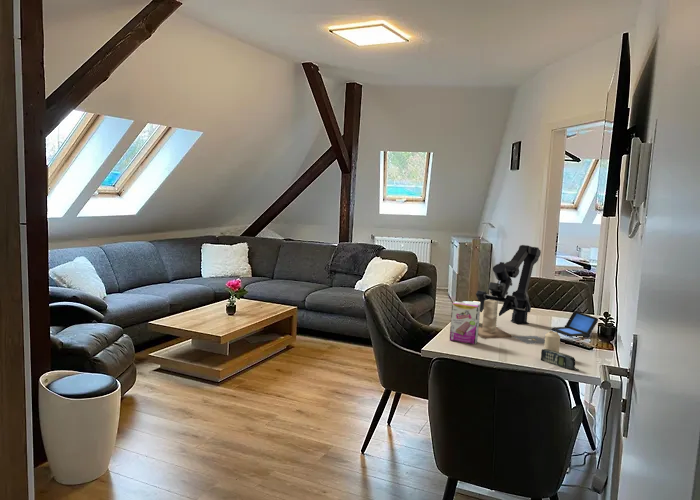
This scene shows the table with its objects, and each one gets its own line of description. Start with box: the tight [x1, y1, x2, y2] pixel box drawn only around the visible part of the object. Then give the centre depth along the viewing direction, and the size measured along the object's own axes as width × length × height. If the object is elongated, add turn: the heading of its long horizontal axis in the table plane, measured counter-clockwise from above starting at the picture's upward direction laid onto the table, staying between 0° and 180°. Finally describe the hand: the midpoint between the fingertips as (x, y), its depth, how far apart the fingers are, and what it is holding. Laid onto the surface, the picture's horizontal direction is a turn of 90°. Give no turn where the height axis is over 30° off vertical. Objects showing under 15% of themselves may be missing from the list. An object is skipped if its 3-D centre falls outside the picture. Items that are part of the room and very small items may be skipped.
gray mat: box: [512, 335, 545, 345], centre depth 235 cm, size 12×12×1 cm
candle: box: [543, 330, 561, 353], centre depth 210 cm, size 6×6×10 cm
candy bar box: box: [449, 300, 481, 345], centre depth 226 cm, size 11×5×16 cm, turn 65°
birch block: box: [482, 299, 499, 333], centre depth 241 cm, size 4×4×14 cm
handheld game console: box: [551, 310, 599, 337], centre depth 249 cm, size 16×13×9 cm
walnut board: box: [478, 326, 512, 339], centre depth 242 cm, size 14×14×1 cm
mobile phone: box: [540, 348, 580, 371], centre depth 199 cm, size 5×3×15 cm
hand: (489, 313), depth 240 cm, fingers open, 9 cm apart
